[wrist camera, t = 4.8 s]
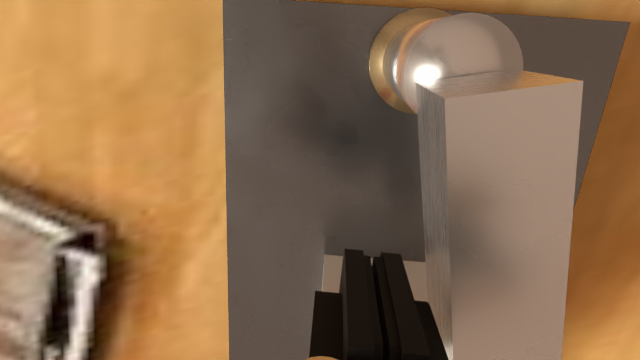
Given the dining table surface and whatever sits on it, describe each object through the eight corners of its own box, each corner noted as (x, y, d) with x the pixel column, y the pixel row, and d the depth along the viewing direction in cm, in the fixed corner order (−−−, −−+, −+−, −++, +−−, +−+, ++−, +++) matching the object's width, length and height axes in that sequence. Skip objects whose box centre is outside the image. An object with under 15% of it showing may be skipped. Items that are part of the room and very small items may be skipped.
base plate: (239, 2, 19) (222, -5, 16) (584, 24, 18) (630, 22, 16) (242, 369, 26) (230, 409, 23) (487, 389, 26) (506, 432, 23)
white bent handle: (363, 16, 16) (397, -12, 7) (467, 1, 15) (640, -49, 7) (392, 319, 20) (432, 530, 12) (471, 312, 20) (575, 525, 11)
